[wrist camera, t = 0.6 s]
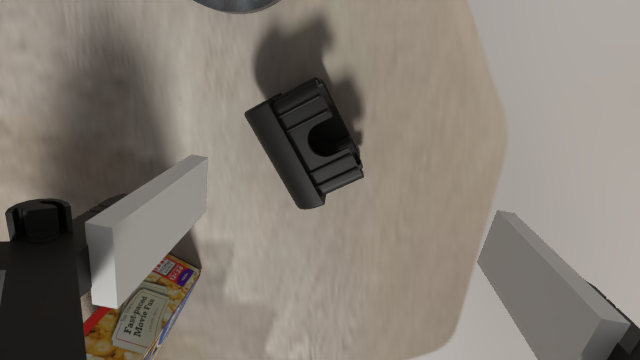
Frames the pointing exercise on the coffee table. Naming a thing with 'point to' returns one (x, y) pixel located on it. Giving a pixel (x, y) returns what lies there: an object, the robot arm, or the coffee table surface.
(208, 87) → the coffee table surface
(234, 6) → the plate
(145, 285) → the popcorn box
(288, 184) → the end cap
